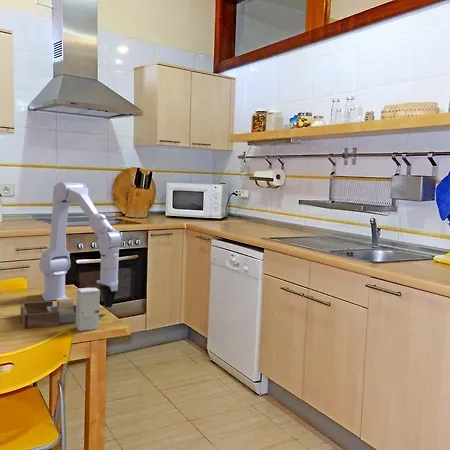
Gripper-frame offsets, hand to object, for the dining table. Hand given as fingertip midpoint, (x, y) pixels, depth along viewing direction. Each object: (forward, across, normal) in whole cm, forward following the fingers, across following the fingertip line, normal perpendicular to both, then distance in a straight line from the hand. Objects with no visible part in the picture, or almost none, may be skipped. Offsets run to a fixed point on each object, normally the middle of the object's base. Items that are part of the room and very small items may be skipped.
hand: (108, 306), depth 163 cm
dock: (+2, 0, -22) cm, 22 cm away
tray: (+2, 0, -12) cm, 13 cm away
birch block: (+2, 0, -14) cm, 14 cm away
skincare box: (+3, +12, -9) cm, 15 cm away
